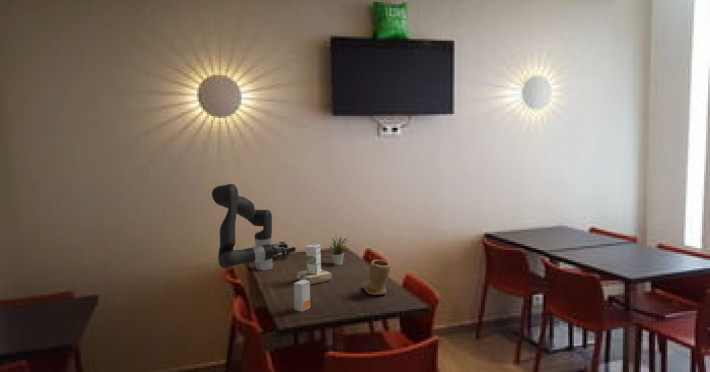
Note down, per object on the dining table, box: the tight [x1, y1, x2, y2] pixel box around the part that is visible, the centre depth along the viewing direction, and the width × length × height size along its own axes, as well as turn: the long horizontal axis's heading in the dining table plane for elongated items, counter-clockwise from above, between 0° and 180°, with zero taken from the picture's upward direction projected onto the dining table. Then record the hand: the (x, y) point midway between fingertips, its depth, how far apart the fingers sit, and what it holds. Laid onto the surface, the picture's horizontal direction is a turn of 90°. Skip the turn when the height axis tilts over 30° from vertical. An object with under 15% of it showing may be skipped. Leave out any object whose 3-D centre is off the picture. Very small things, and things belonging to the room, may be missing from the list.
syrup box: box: [305, 243, 322, 275], centre depth 249 cm, size 6×6×14 cm
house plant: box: [328, 235, 350, 266], centre depth 280 cm, size 14×14×16 cm
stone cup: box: [362, 259, 391, 296], centre depth 230 cm, size 15×12×15 cm
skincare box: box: [293, 279, 311, 313], centre depth 209 cm, size 6×4×12 cm
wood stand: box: [296, 268, 333, 286], centre depth 250 cm, size 13×13×4 cm
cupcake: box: [274, 241, 289, 261], centre depth 297 cm, size 10×10×10 cm
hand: (291, 247), depth 243 cm, fingers open, 8 cm apart
